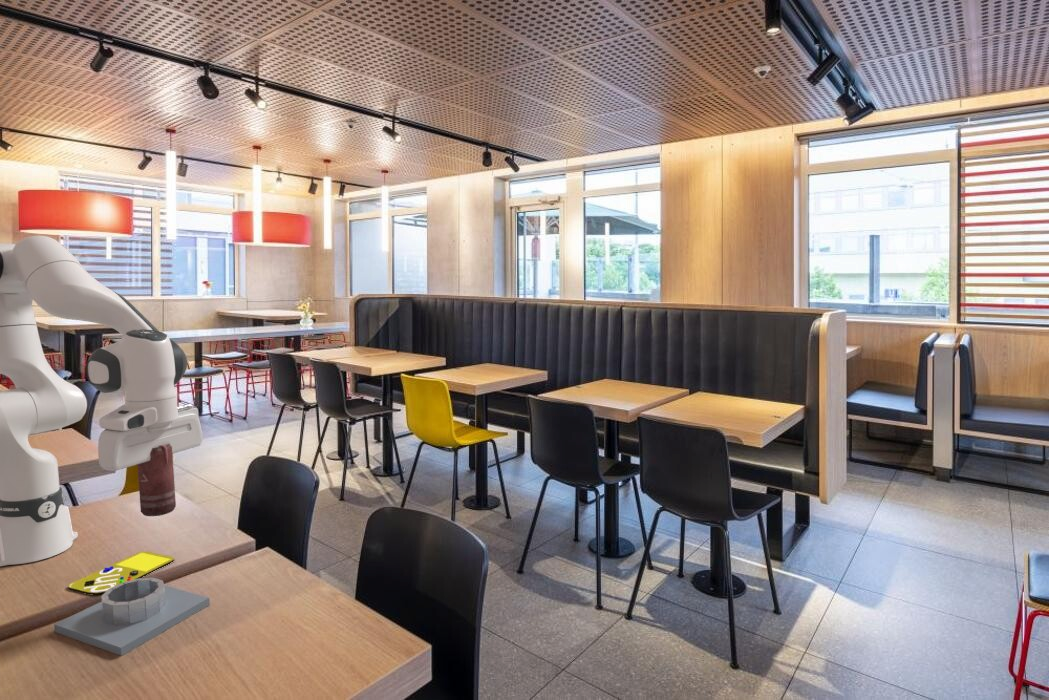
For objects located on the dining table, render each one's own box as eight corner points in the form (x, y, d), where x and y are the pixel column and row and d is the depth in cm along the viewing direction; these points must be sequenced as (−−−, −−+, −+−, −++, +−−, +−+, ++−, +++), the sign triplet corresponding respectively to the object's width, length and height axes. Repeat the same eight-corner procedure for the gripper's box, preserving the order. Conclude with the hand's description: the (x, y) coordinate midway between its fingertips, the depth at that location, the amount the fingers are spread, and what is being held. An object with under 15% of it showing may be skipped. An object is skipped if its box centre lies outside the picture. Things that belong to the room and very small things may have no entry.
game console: (141, 554, 145) (141, 548, 145) (178, 562, 142) (177, 556, 142) (64, 591, 129) (63, 584, 128) (103, 601, 125) (103, 594, 125)
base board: (54, 631, 113) (54, 624, 113) (146, 586, 130) (146, 579, 130) (121, 655, 107) (121, 647, 106) (209, 604, 123) (209, 597, 123)
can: (161, 518, 121) (157, 449, 120) (133, 515, 122) (128, 447, 121) (184, 506, 127) (179, 440, 125) (157, 504, 128) (152, 439, 127)
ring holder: (90, 618, 115) (89, 597, 115) (141, 592, 124) (140, 574, 124) (127, 630, 112) (126, 609, 111) (176, 603, 121) (175, 584, 120)
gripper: (186, 400, 133) (189, 462, 135) (90, 421, 114) (95, 493, 116) (207, 403, 131) (211, 466, 132) (113, 424, 112) (119, 497, 113)
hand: (156, 479), depth 124 cm, fingers closed, pressing on can
